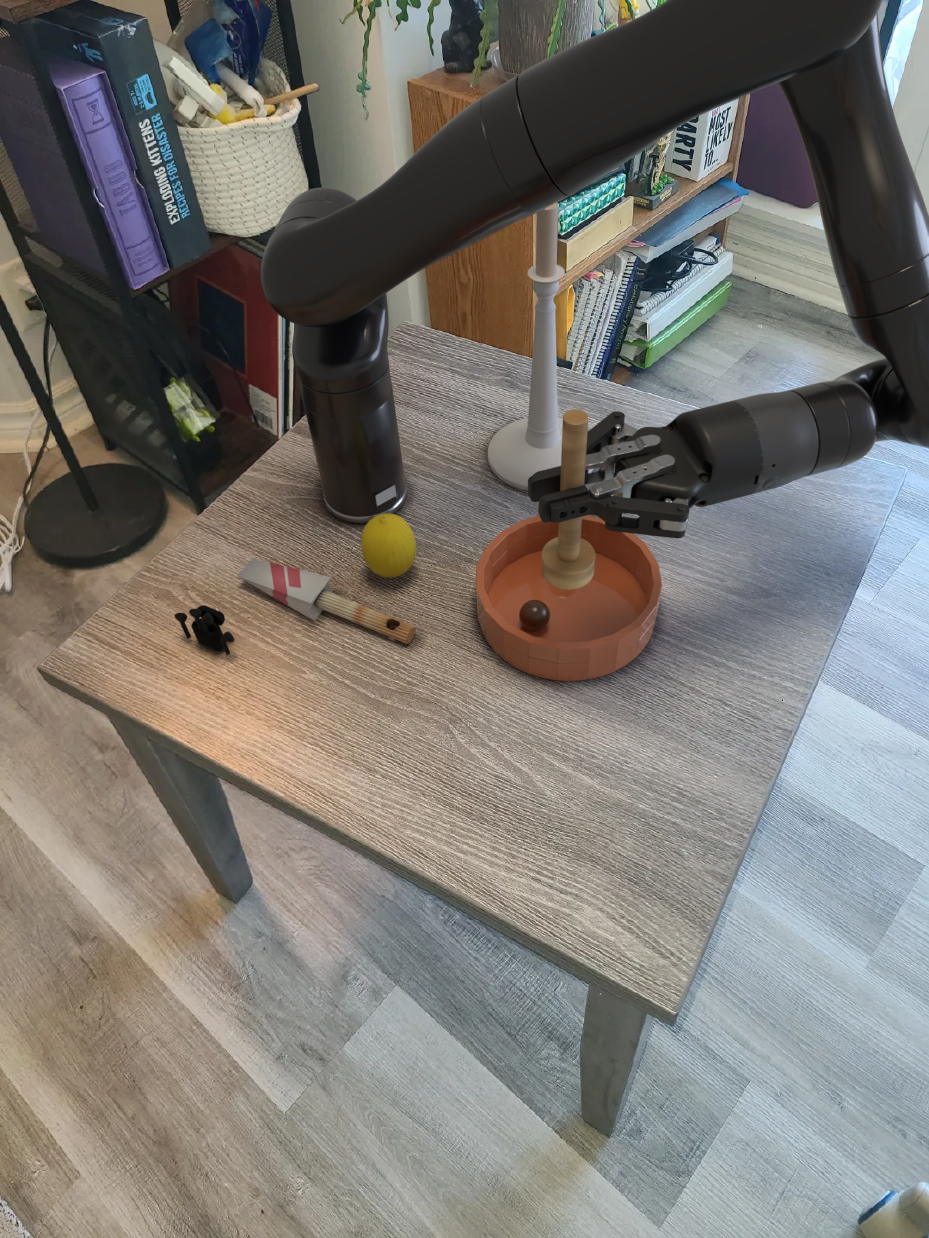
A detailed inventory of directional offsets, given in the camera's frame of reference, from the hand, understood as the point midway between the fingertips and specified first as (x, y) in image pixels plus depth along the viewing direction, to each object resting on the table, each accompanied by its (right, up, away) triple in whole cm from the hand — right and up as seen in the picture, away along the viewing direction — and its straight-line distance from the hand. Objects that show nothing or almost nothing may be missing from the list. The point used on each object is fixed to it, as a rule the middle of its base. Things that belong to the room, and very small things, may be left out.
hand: (535, 500), depth 68 cm
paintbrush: (-19, -8, +23) cm, 31 cm away
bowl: (+5, -8, +21) cm, 23 cm away
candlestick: (+4, +10, +37) cm, 38 cm away
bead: (+1, -9, +18) cm, 20 cm away
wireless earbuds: (-30, -12, +21) cm, 39 cm away
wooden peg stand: (+3, -5, +7) cm, 9 cm away
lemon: (-13, -4, +26) cm, 29 cm away
